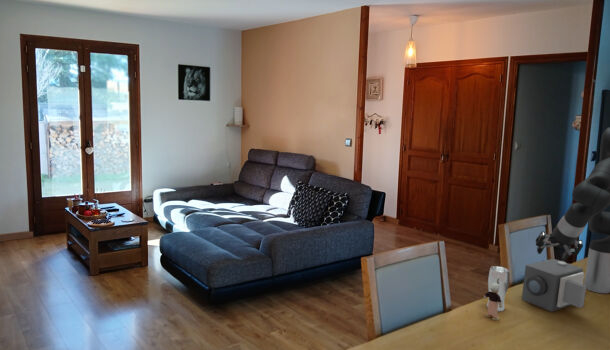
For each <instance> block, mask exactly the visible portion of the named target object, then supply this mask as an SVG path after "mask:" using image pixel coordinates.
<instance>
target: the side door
mask: <svg viewBox="0 0 610 350" xmlns="http://www.w3.org/2000/svg"><path fill="white" fill-rule="evenodd" d="M584 280H585V272H584V271H583V272H580V273H577V274H573V275H569V276H566V277H562V278H561V279H560V286H559V294H558V301H557V307H562V306H565V305H568V304H571V305H570V306H575V307H577V308H578V309H580V308H584V306H585V305H584V303H585V299H586V298H585V297H586V290H587V289H586V285H584Z"/></svg>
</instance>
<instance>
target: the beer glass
mask: <svg viewBox="0 0 610 350" xmlns="http://www.w3.org/2000/svg"><path fill="white" fill-rule="evenodd" d="M487 279H488V280H487V285H488V286H487V287H488V292H492V291H491V289H489V287H490V285H491V284H492V283H498V284H499V286H500V287H499V291H498V292H497V294H498V295H499V296H500V299H501V301H502V302H501V303H502V307H501V308H500V307H499V304H498V309H497V312H503V311H505V299H506V298H505V297H506V295H507V292H508V289H509V285H510V284H509V283H510V269H509V268H506V267H503V266H499V265H498V266H497V265H494V266H493V265H492V266H491V267H490V268H489V273H488V278H487ZM488 303H489V299H488V301H487V303H486V308H488Z"/></svg>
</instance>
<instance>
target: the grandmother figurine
mask: <svg viewBox="0 0 610 350" xmlns="http://www.w3.org/2000/svg"><path fill="white" fill-rule="evenodd" d="M499 287H500V286H499V284H498V283H492V284H491V285H490V287H489V288H488V290H489V289H491V291H492V292H489V291H487V292H485V293H484V296H483V299H484V300H487V298H488V300H489V303H488V302H487V303H488V307H487V314H486V315H485V316H486V317H487V318H491V320H493V321H499V320H500V317H499V316H498V311H497V309H498V304H499V307H500V308H501V307H502V303H501V302H502V301H501V299H500V296H499V295H498V294H497V292H498V291H499Z"/></svg>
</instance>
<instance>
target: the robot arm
mask: <svg viewBox="0 0 610 350" xmlns="http://www.w3.org/2000/svg"><path fill="white" fill-rule="evenodd" d="M599 148H600V152H599V162H598V163H597V164H596V165H594V167H593V169H592V170H591V172H590V173H589V175H588V176H587V178H585V179H584V180H582V181H581V182H579V183H578V184H577V185H575V187H574V189H572V192H571V196H572V199H573V201H575V203H572V204H571V205H570V206H569V208H568V209H567V210H566V212H565V214H564V215H563V216H562V217H561V218H560V220H559V221H558V223H557V224H556V226H555V227H554V229H553V231H552V232H551V233H550V234H548V233H546V231H544V230H543V231H541V232H540V233H539V235H538V236H537V237H536V239H535V246H536V252H537V254H539V255H541V254H542V253H543V251H544V249H546V248H552V247H555V248H559V249H564V251H563V254H562V255H561V256H562V257H561V258H562V261H566V260H568V259H569V257H571V255H575V256H578V255H579V253H580V252H581V250H582V249H583V248H584V244H583V243H584V241H583V240H582V239H578V238H579V237H580V235H581V234H582V233H583V231H584V229H585V228H586V226H587V225H588V229H589V231H590V232H592V233H595V234H600V235H601V234H602V235H607V236H606V237H605V238H601V239H593V240H591V241H590V243H589V248H588V255H587V261H586V270H585V273H584V280H583V285H586V290H588V291H590V292H594V293H597V294H609V293H610V211H604V210H605V209H606V208H607V207H609V206H610V127H607V128H606V129H605V130H604V132H603V134H602V136H601V140H600V147H599ZM571 246H574V247H573V248H572V247H571Z"/></svg>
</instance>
